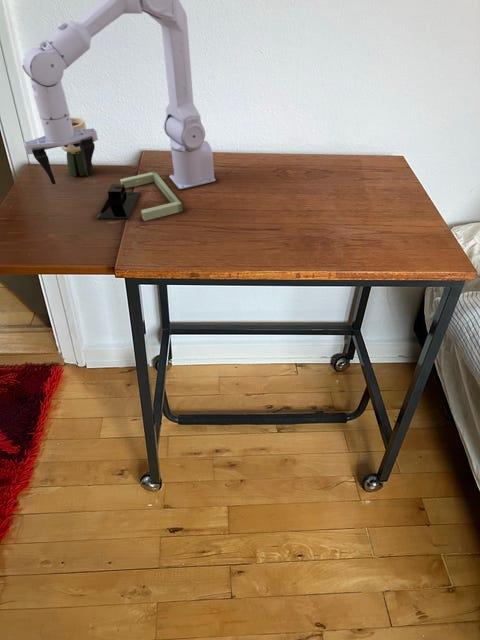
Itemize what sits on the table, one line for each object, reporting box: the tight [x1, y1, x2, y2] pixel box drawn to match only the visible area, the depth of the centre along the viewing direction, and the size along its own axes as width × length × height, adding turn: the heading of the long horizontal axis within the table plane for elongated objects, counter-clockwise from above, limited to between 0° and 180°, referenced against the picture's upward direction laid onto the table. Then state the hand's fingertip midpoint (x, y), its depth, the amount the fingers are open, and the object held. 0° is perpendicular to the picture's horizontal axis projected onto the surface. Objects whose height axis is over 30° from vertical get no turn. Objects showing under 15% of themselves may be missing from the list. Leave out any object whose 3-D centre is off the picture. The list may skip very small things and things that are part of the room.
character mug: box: [60, 116, 96, 177], centre depth 134 cm, size 11×7×13 cm, turn 90°
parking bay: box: [119, 171, 183, 222], centre depth 125 cm, size 9×19×2 cm, turn 25°
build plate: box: [96, 183, 141, 221], centre depth 122 cm, size 12×7×5 cm, turn 176°
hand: (71, 178), depth 116 cm, fingers open, 7 cm apart
